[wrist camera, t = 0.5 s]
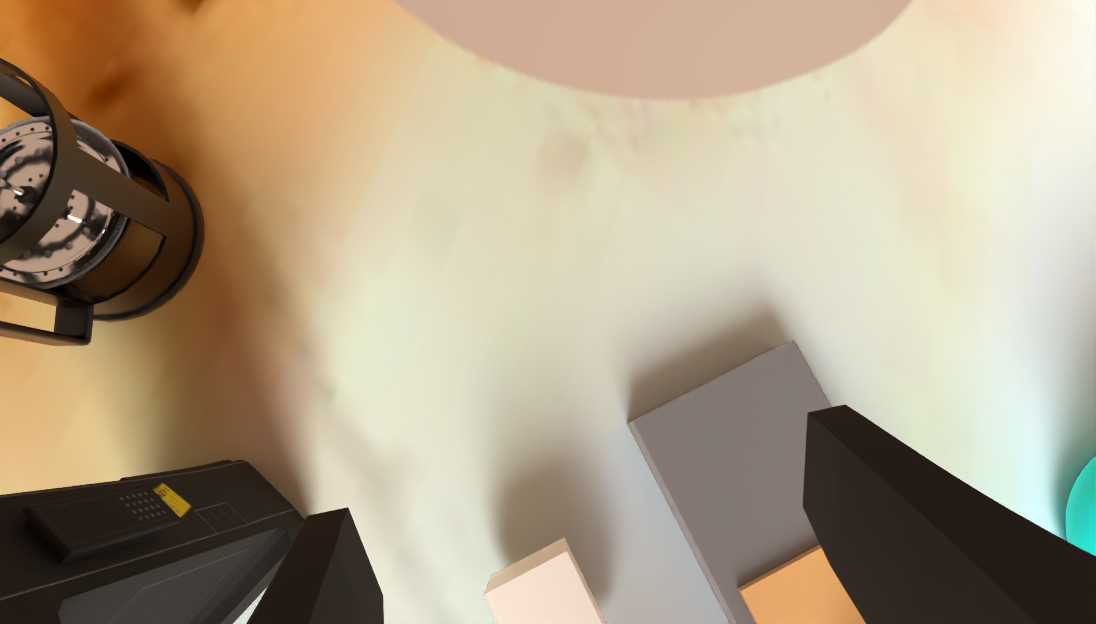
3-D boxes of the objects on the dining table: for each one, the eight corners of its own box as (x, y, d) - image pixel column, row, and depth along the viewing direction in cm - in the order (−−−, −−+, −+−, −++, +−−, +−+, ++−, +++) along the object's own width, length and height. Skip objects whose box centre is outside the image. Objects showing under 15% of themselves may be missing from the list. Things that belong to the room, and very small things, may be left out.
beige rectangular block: (608, 624, 37) (620, 660, 31) (537, 662, 37) (535, 706, 31) (563, 532, 38) (566, 551, 32) (493, 569, 37) (483, 594, 32)
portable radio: (252, 436, 39) (-269, 436, 14) (333, 515, 38) (-63, 664, 13) (141, 551, 38) (-630, 769, 13) (222, 635, 37) (-429, 1033, 12)
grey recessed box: (974, 705, 36) (1012, 728, 33) (817, 794, 36) (842, 827, 33) (775, 346, 39) (793, 339, 36) (626, 423, 39) (633, 422, 36)
